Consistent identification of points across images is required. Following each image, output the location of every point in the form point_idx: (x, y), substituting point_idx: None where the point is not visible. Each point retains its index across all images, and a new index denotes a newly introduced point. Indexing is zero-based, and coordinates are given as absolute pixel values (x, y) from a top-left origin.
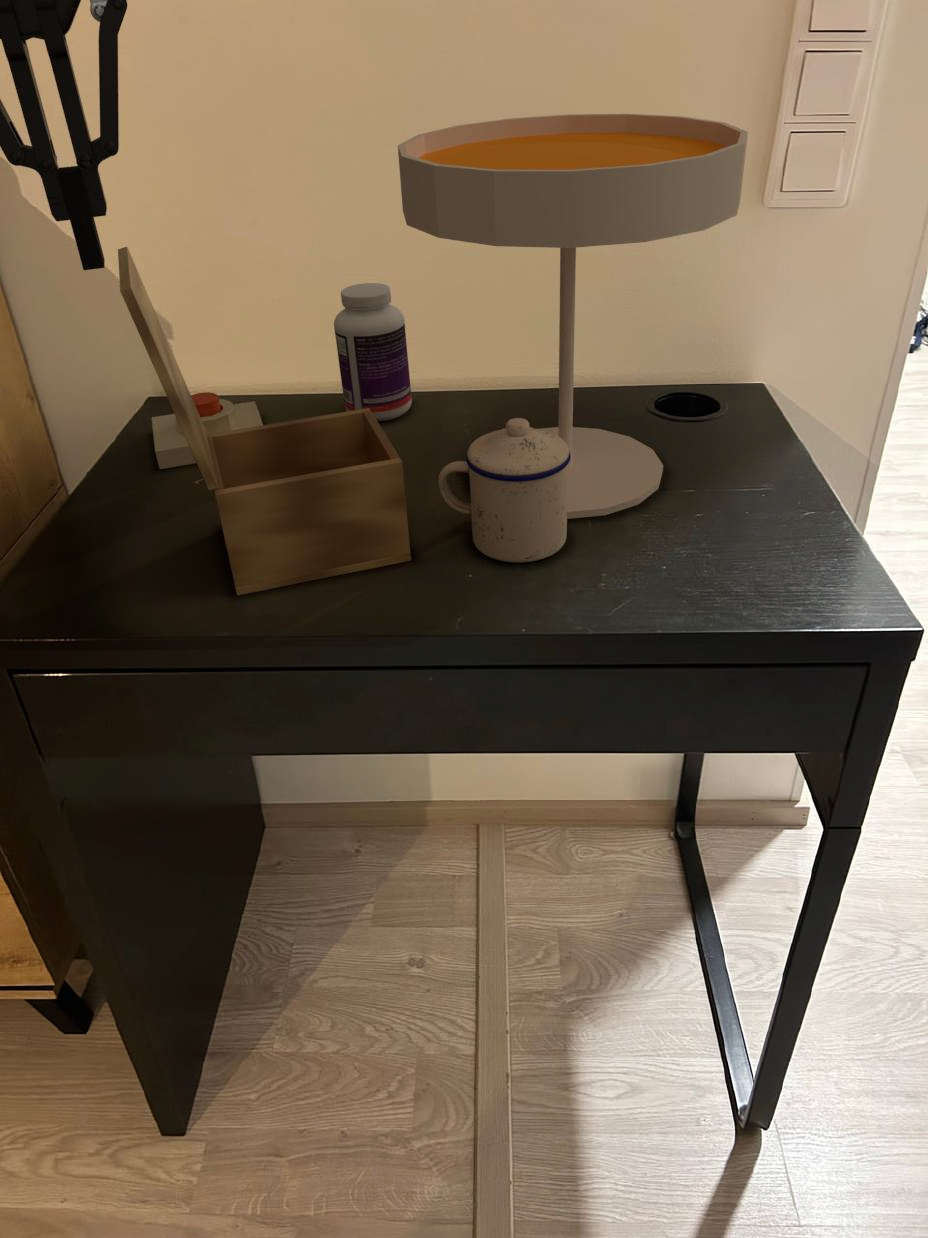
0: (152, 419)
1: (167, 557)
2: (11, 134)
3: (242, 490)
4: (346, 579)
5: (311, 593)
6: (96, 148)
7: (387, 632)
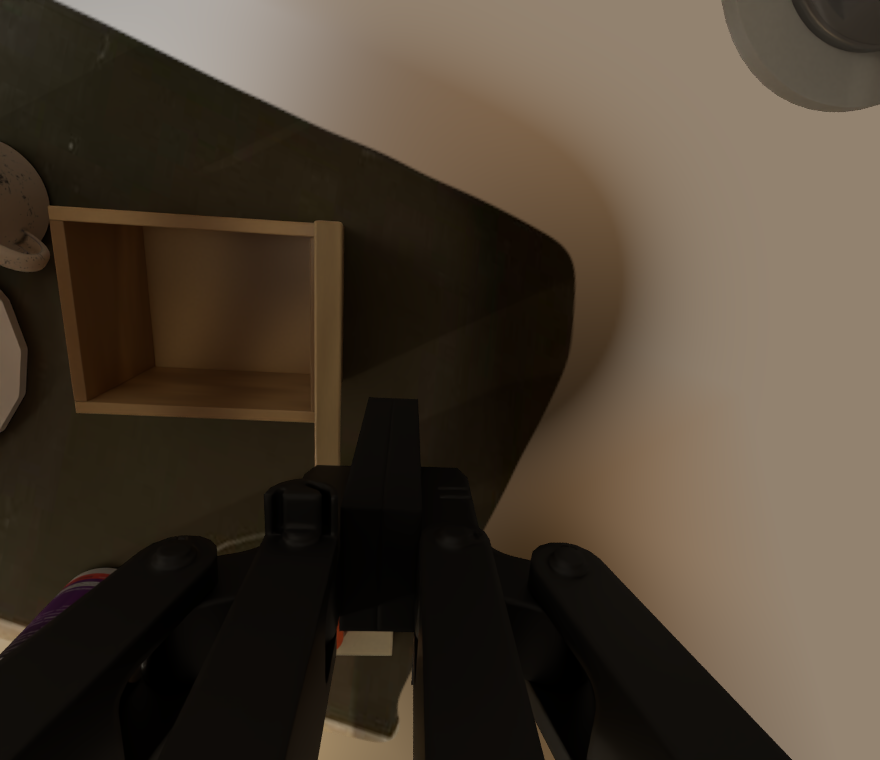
0: (391, 649)
1: (409, 344)
2: (586, 622)
3: (285, 221)
4: (218, 205)
5: (262, 193)
6: (238, 583)
7: (190, 68)
